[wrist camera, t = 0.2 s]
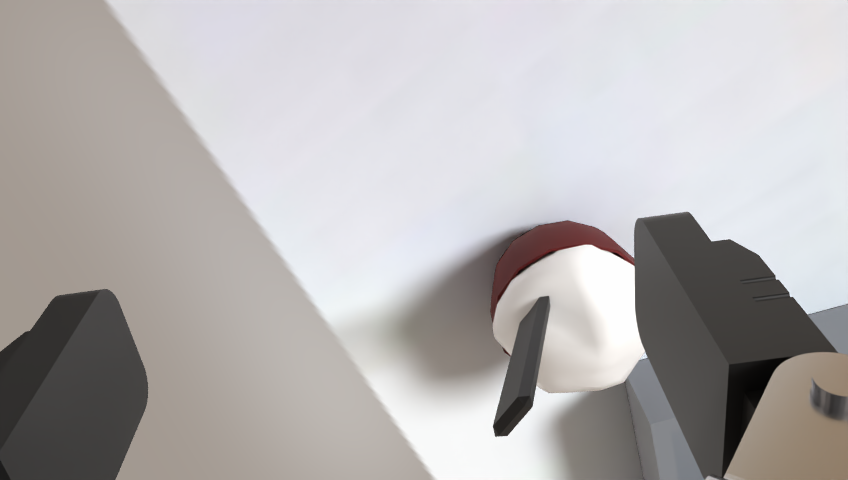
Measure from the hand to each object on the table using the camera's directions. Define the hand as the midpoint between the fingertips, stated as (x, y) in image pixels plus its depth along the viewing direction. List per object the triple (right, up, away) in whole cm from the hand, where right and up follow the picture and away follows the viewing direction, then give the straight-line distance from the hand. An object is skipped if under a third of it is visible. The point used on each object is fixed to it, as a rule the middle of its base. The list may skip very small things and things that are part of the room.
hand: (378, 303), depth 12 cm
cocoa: (+6, 0, +22) cm, 22 cm away
